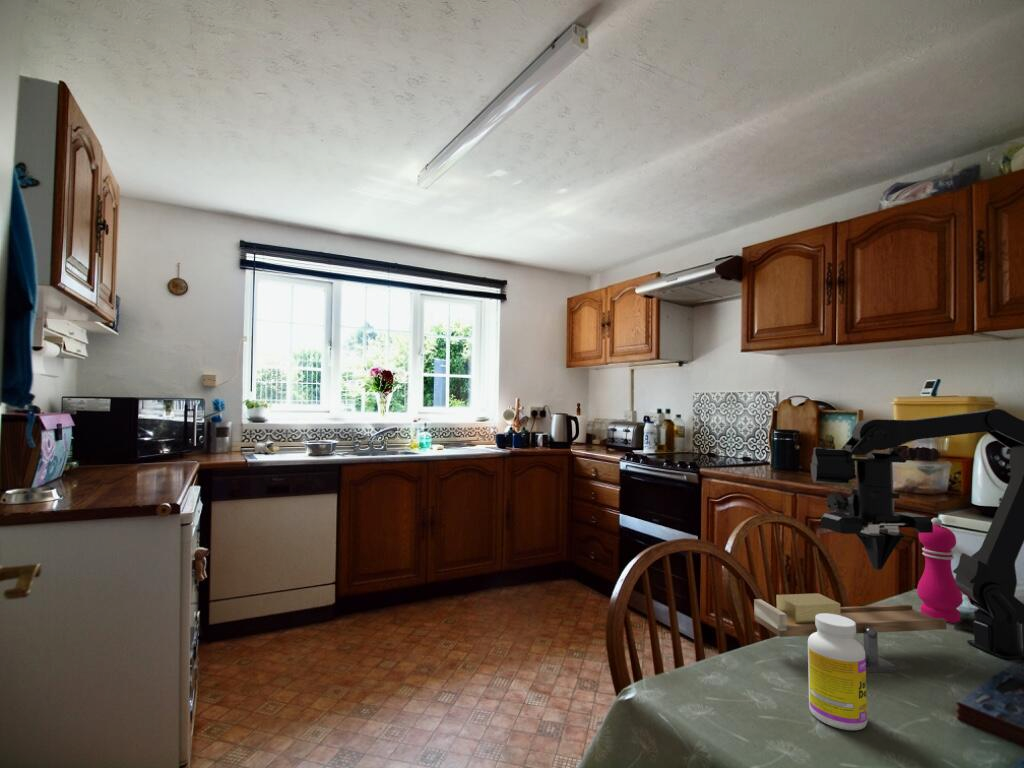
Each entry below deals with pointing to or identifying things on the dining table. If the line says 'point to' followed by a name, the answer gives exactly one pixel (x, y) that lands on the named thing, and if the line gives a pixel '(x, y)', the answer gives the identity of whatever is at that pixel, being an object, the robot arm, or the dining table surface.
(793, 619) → the brass rider
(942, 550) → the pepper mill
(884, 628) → the balance beam
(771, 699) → the dining table surface
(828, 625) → the supplement bottle
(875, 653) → the stand
